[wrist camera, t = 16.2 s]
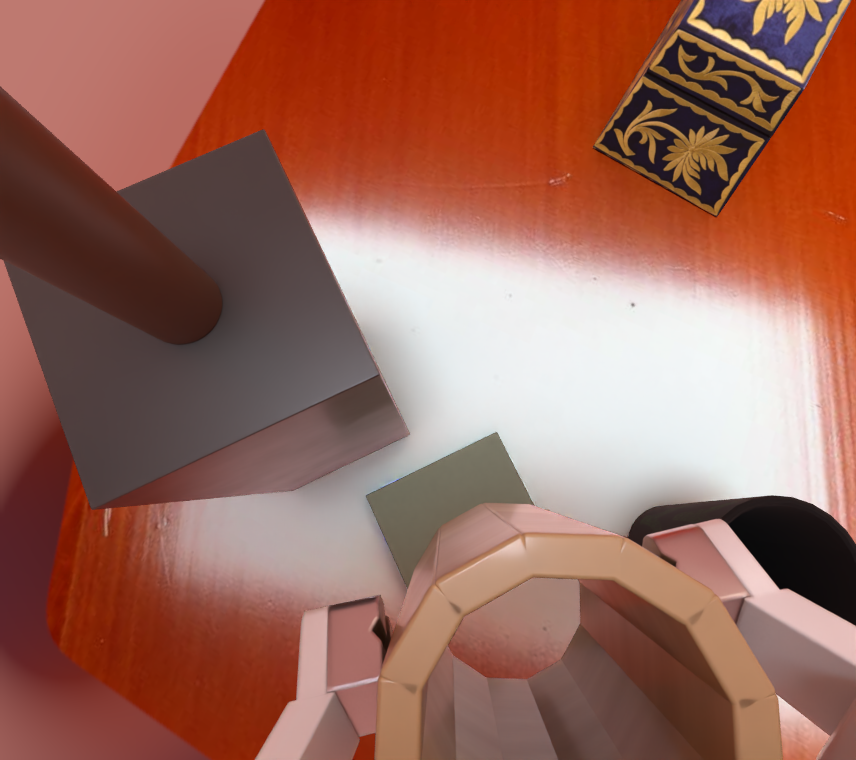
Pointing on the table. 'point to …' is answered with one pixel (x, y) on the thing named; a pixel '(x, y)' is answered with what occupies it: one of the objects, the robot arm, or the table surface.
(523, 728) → the orange hollow cylinder
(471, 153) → the table surface
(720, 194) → the decorative box
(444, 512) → the felt coaster
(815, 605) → the robot arm
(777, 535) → the cup
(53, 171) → the peg stand
